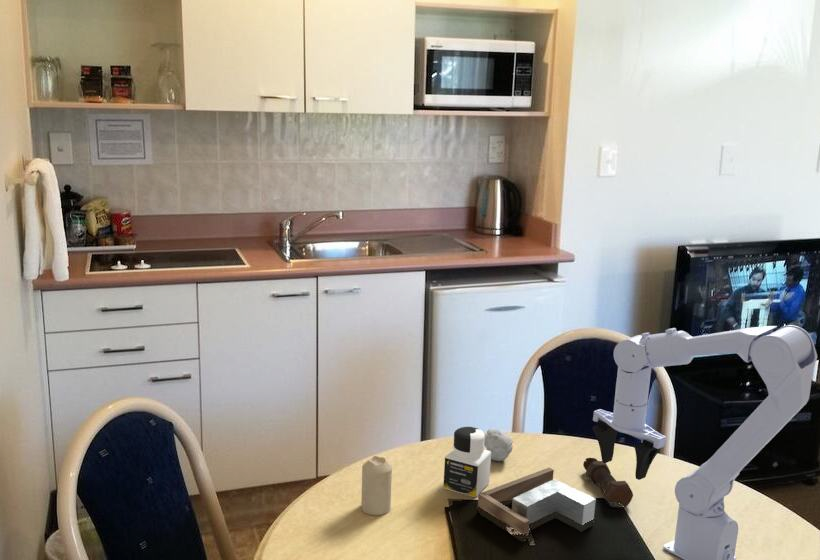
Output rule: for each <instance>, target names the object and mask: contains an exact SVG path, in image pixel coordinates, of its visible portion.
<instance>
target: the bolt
mask: <svg viewBox="0 0 820 560" xmlns="http://www.w3.org/2000/svg"><path fill="white" fill-rule="evenodd" d="M582 466H583V468H584V470H585V473H586V475H587V477H588V479H589V480H590V482H591V483H592V484H594V485H595V484H596V485H599V487H600V488H601V489H602V490H603V492H602V495H603V497H604V499H605V501H606V500H607V501H608V502H617V503H620V504H622V505H623V506H624V508H626V507H627V506H629V504H630V503H631V502H632V501H633V497H634V493H633V490H632V488H631V486H629V484H628V482H627V481H626V480H616V479H615V477H614V476H613V475H612V474H611V470H610V468H609V466H608V465H607V463H603V462H602V460H601V461H600V460H598V459H597V458H596V457H587V458H585V459H584V461H583V465H582ZM607 501H606V502H607Z"/></svg>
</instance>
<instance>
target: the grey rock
mask: <svg viewBox="0 0 820 560" xmlns="http://www.w3.org/2000/svg"><path fill="white" fill-rule="evenodd" d="M484 434H485V439H484V448H486V450H488V451H490V452H491V460H492V461H495V462H503V461H504V460H506V459H507V458H508V457H509V455H510V454H511V453H512V451H513V443H514V440H513V439H512V438H511V437H510V436H509V435H507V434H505V433H504V432H501V431H500V430H499V429H492V428H490V429H488V430H487V431H486V433H484Z"/></svg>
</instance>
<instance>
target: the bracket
mask: <svg viewBox="0 0 820 560" xmlns="http://www.w3.org/2000/svg"><path fill="white" fill-rule="evenodd" d="M511 510H513V511H515V512H516V513H518V514H520V515H521V516H523V517H524V518H526V519H528V520H529V524H530V523H533V522H535V521H537V520H539V519H541V518H543V517H545V516H547V515H549V514H552V513H553V512H555V511H556V512H558V513H560V514H562V515H564V516H566V517H568V518H570V519H572V520H574V521H575V522H577V523H579V524H581V525H584V524H585V523H587V522H589V521H591V520H593V519H595V512H596V511H595V510H596V498H595V497H592V496H591V495H589V494H587V493H585V492H582V491H580V490H578V489H576V488H574V487H571V486H570V485H568V484H566V483H564V482H561V481H560V480H557V479H556V478H553V480H551V481H549V482H547V483H545V484H542V485H540V486H538V487H536V488H534V489H532V490H530V491H527V492H525V493H523V494H521V495H519V496H517V497H515V498H513V500H512V504H511Z"/></svg>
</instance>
